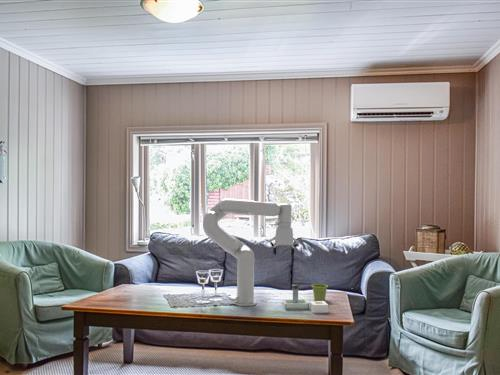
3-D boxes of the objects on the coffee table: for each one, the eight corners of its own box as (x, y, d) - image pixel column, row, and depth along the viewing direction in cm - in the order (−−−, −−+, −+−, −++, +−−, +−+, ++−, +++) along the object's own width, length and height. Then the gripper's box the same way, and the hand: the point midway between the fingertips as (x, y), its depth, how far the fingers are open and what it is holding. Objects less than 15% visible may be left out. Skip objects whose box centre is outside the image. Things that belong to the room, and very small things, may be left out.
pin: (292, 306, 220) (292, 285, 221) (291, 304, 225) (291, 284, 225) (300, 306, 221) (300, 285, 221) (298, 304, 225) (298, 284, 225)
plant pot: (327, 302, 232) (327, 287, 233) (311, 301, 234) (311, 286, 234) (327, 298, 241) (327, 284, 242) (311, 298, 243) (311, 283, 244)
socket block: (313, 312, 211) (313, 305, 211) (309, 308, 219) (309, 301, 219) (328, 312, 212) (328, 304, 212) (324, 308, 220) (324, 301, 220)
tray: (285, 309, 217) (285, 304, 217) (282, 304, 227) (282, 299, 227) (309, 309, 218) (309, 303, 218) (305, 304, 228) (305, 299, 228)
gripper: (269, 224, 230) (268, 255, 229) (300, 226, 230) (299, 256, 229) (269, 224, 237) (268, 253, 236) (298, 225, 237) (297, 254, 237)
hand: (283, 254), depth 233 cm, fingers open, 9 cm apart
